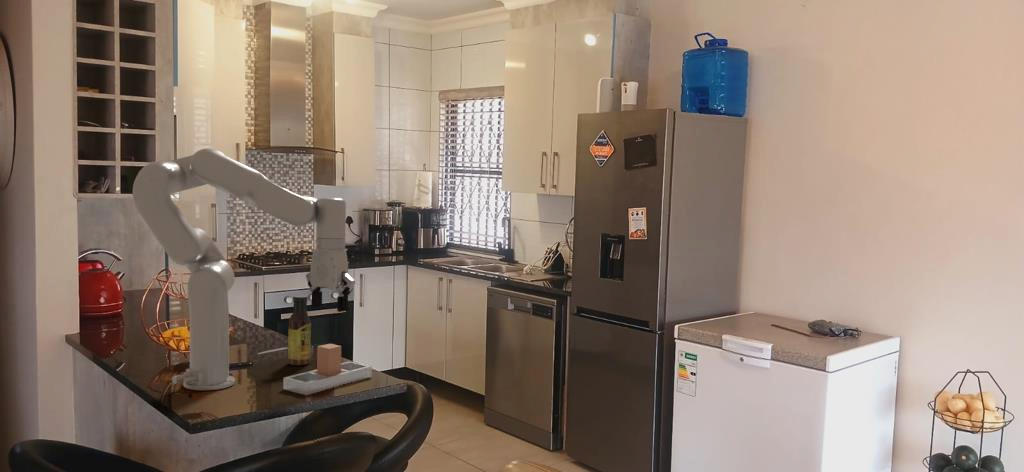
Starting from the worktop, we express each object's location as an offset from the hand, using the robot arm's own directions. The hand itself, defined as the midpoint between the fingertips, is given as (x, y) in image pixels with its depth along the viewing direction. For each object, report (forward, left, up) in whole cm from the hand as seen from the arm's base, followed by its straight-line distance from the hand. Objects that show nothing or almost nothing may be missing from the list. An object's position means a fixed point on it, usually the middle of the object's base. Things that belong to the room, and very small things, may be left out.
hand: (329, 308), depth 210 cm
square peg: (0, 0, -20) cm, 20 cm away
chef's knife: (+17, +41, -21) cm, 49 cm away
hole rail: (0, 0, -20) cm, 20 cm away
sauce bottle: (+9, +22, -20) cm, 31 cm away
